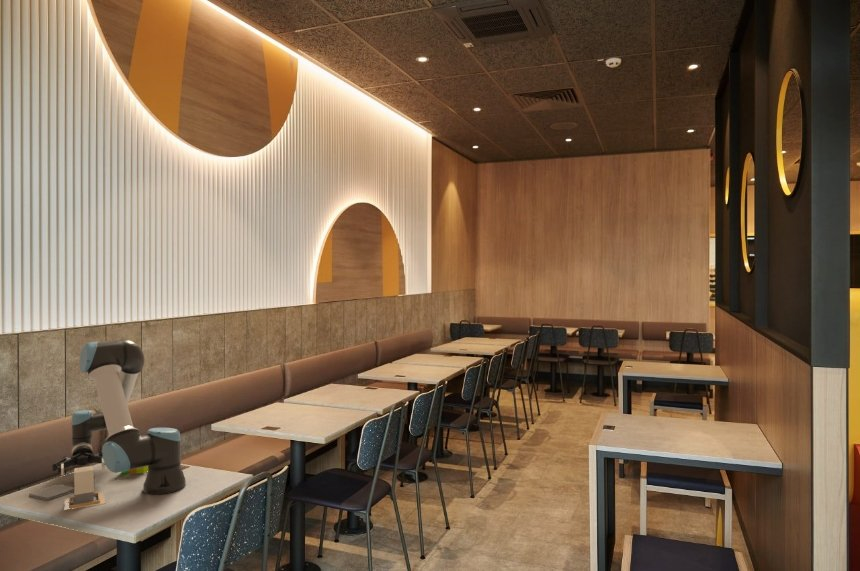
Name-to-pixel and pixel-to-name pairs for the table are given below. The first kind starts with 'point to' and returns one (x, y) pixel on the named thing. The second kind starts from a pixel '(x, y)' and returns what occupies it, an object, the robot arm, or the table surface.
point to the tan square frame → (87, 504)
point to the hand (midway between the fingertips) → (83, 468)
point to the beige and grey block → (84, 484)
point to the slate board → (52, 492)
